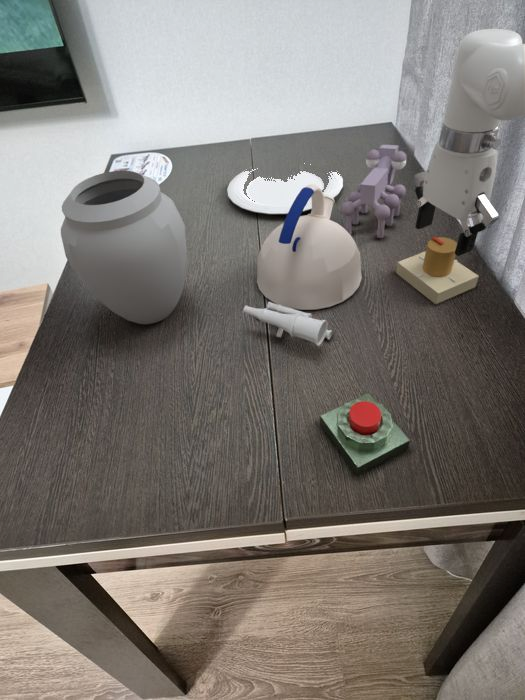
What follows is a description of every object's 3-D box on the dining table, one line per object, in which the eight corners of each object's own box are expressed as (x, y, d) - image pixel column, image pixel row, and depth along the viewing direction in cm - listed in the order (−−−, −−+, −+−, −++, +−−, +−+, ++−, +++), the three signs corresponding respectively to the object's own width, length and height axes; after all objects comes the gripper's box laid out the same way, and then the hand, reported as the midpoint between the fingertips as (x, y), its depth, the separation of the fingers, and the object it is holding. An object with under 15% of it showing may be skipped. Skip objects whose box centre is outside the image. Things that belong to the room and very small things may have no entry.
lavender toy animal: (369, 193, 106) (374, 134, 97) (413, 200, 102) (423, 139, 92) (336, 234, 95) (339, 172, 85) (384, 244, 91) (393, 180, 81)
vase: (101, 291, 88) (48, 172, 71) (196, 270, 90) (167, 150, 73) (98, 358, 75) (32, 232, 57) (210, 332, 77) (178, 203, 59)
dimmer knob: (457, 270, 78) (464, 245, 75) (435, 280, 77) (441, 254, 73) (438, 257, 82) (444, 232, 78) (416, 266, 80) (421, 241, 77)
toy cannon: (255, 328, 79) (263, 299, 79) (326, 351, 74) (336, 321, 73) (234, 324, 72) (244, 293, 71) (313, 350, 66) (323, 316, 66)
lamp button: (386, 426, 56) (388, 418, 55) (360, 439, 55) (361, 431, 54) (368, 404, 59) (369, 396, 58) (342, 416, 58) (343, 408, 57)
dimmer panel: (475, 287, 79) (479, 275, 77) (435, 304, 77) (438, 292, 75) (433, 257, 86) (436, 246, 84) (395, 273, 84) (397, 261, 82)
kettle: (375, 257, 88) (385, 168, 75) (340, 322, 76) (345, 230, 63) (283, 240, 95) (278, 156, 82) (238, 297, 83) (223, 209, 70)
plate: (350, 215, 100) (351, 207, 99) (224, 225, 102) (223, 217, 101) (336, 161, 120) (336, 154, 119) (231, 171, 122) (230, 164, 121)
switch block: (407, 449, 58) (412, 432, 55) (356, 476, 56) (358, 460, 53) (367, 401, 63) (369, 384, 61) (319, 424, 62) (319, 407, 59)
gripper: (537, 149, 58) (498, 256, 71) (445, 113, 69) (425, 211, 82) (494, 164, 56) (462, 272, 69) (407, 124, 68) (392, 223, 80)
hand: (442, 239), depth 75 cm, fingers open, 9 cm apart
